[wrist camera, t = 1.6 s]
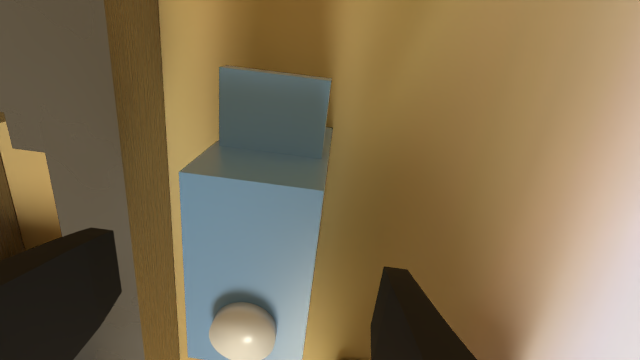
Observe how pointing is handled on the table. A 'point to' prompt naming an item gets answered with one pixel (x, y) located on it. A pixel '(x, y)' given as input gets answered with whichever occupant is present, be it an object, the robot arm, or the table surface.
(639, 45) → the table surface
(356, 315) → the table surface
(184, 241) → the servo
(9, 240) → the chassis
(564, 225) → the table surface
